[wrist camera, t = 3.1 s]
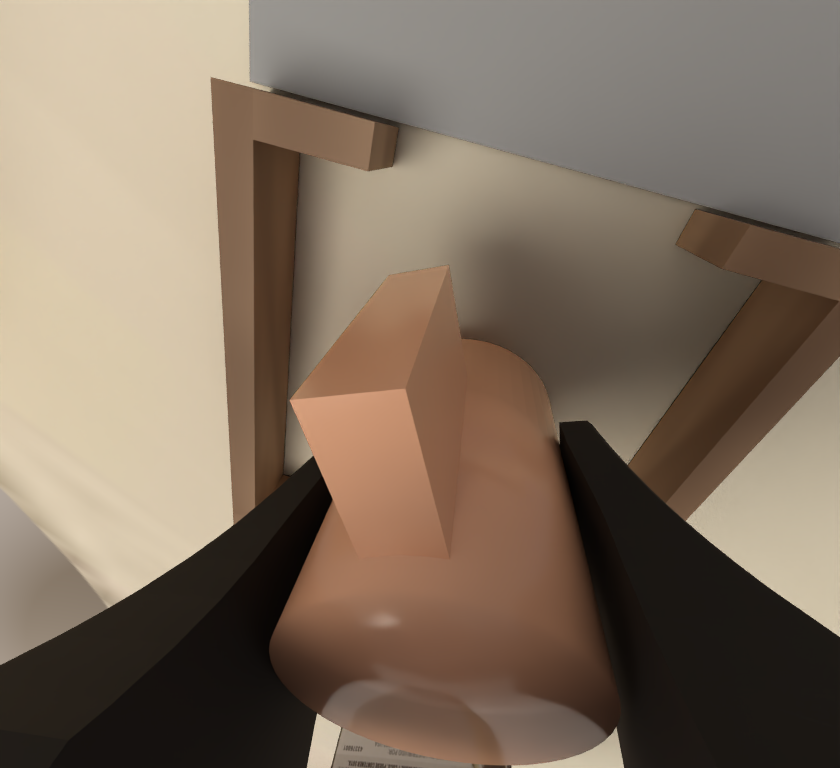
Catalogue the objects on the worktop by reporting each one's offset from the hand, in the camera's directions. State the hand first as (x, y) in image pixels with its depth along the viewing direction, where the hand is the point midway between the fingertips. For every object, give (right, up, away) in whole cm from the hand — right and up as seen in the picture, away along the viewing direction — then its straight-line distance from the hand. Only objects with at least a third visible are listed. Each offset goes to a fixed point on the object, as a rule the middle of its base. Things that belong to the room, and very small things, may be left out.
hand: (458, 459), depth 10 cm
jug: (0, +2, +1) cm, 2 cm away
